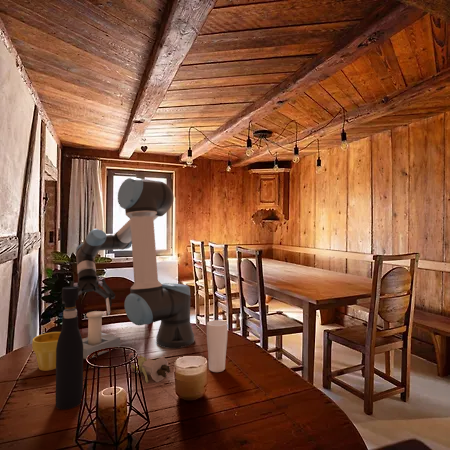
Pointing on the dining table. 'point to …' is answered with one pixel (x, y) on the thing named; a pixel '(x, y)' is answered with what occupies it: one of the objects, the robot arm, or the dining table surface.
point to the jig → (106, 343)
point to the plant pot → (46, 350)
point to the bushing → (94, 327)
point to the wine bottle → (69, 355)
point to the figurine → (151, 367)
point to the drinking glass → (217, 344)
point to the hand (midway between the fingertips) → (91, 315)
